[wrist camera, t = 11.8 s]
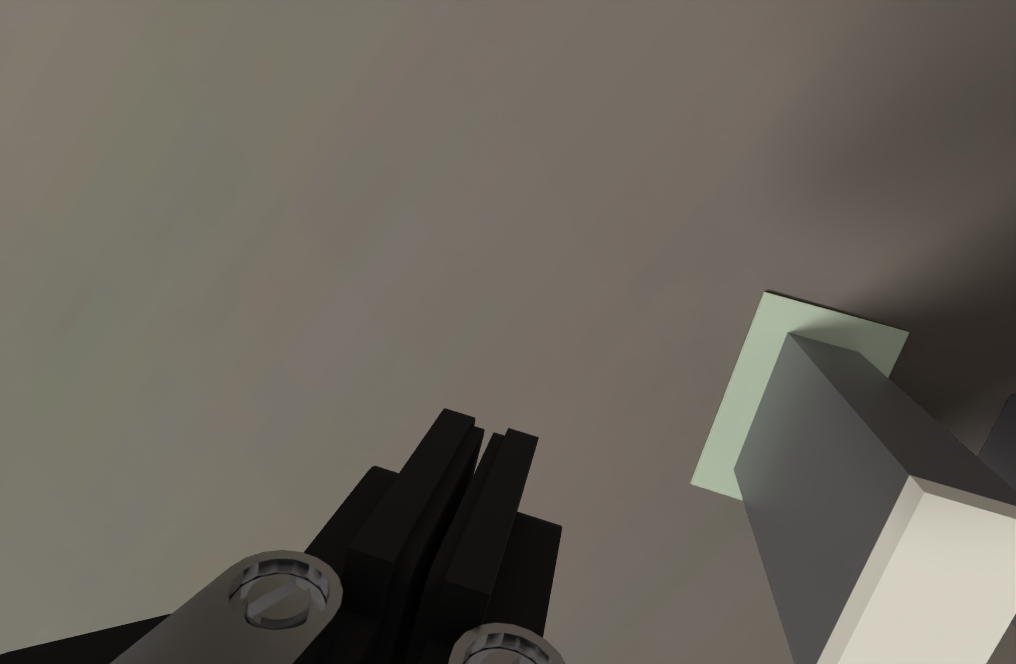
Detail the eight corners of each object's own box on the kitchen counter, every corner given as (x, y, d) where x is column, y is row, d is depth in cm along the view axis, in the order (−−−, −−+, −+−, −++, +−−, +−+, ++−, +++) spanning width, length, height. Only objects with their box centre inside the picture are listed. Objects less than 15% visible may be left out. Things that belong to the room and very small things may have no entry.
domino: (799, 489, 21) (930, 756, 12) (733, 469, 22) (811, 716, 12) (858, 351, 20) (1063, 533, 10) (787, 332, 20) (924, 492, 11)
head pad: (818, 522, 22) (819, 524, 22) (690, 482, 22) (690, 484, 22) (908, 331, 20) (909, 332, 19) (764, 291, 20) (764, 291, 20)
